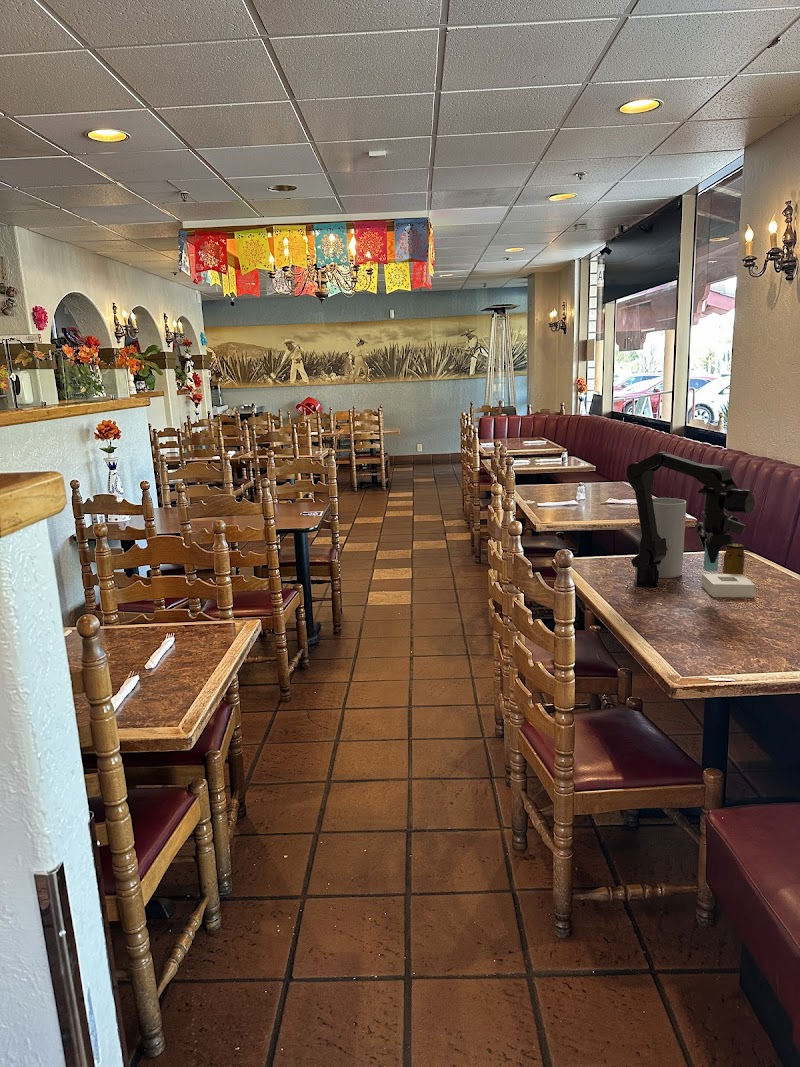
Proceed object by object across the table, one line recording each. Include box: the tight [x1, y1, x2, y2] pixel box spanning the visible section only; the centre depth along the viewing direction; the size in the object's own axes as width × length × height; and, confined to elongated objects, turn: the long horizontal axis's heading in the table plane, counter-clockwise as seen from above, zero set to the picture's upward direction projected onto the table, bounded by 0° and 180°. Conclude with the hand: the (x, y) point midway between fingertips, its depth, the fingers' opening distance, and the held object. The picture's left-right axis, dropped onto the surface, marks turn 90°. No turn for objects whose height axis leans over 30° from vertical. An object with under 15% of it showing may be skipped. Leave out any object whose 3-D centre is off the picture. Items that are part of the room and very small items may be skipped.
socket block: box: [701, 573, 756, 599], centre depth 226 cm, size 12×12×4 cm
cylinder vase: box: [652, 497, 687, 579], centre depth 245 cm, size 12×12×25 cm
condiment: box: [722, 542, 754, 583], centre depth 236 cm, size 7×8×12 cm
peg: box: [703, 539, 720, 572], centre depth 217 cm, size 3×3×9 cm
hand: (711, 561), depth 217 cm, fingers closed on peg, 3 cm apart
